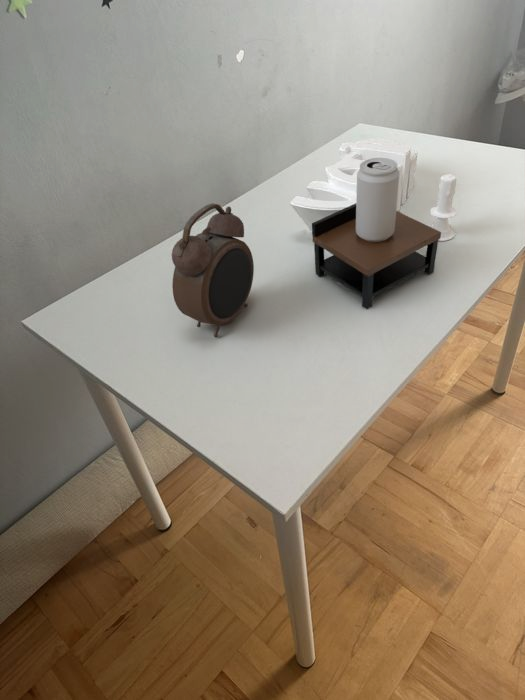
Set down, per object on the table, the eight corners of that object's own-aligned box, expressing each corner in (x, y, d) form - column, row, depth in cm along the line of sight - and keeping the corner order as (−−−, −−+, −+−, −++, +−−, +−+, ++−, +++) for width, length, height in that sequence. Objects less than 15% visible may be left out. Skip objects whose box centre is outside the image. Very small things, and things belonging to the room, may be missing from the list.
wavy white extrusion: (359, 260, 94) (360, 208, 86) (284, 240, 101) (279, 191, 94) (429, 180, 113) (434, 132, 106) (361, 169, 121) (363, 124, 114)
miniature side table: (435, 272, 88) (443, 219, 81) (366, 310, 83) (368, 257, 76) (379, 241, 97) (382, 191, 90) (313, 274, 92) (311, 223, 85)
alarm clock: (217, 351, 80) (191, 241, 66) (182, 338, 83) (150, 230, 69) (266, 299, 88) (252, 192, 74) (232, 289, 91) (213, 184, 78)
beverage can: (369, 220, 88) (372, 152, 80) (402, 231, 84) (408, 161, 76) (347, 237, 85) (348, 168, 77) (380, 248, 81) (384, 177, 73)
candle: (431, 224, 100) (439, 165, 92) (458, 230, 97) (469, 170, 89) (421, 237, 97) (428, 178, 89) (448, 244, 94) (459, 183, 86)
